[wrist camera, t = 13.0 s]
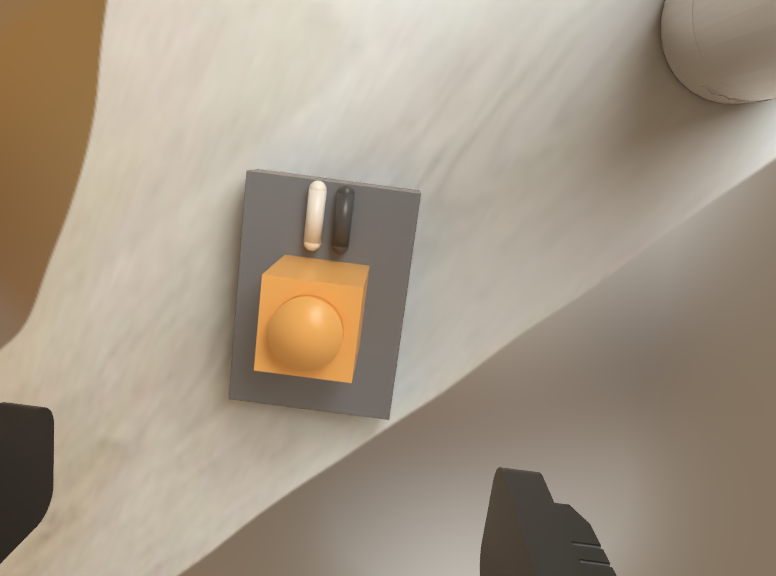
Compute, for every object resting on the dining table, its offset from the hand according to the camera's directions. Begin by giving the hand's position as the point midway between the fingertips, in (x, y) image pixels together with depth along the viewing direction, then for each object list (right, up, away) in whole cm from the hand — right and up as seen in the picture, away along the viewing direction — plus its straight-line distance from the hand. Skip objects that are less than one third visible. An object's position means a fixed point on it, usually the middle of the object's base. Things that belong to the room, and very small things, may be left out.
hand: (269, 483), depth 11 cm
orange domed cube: (-2, +3, +25) cm, 25 cm away
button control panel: (-2, +3, +28) cm, 28 cm away
